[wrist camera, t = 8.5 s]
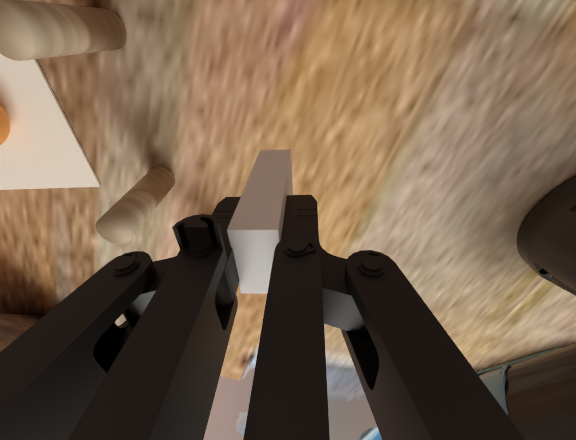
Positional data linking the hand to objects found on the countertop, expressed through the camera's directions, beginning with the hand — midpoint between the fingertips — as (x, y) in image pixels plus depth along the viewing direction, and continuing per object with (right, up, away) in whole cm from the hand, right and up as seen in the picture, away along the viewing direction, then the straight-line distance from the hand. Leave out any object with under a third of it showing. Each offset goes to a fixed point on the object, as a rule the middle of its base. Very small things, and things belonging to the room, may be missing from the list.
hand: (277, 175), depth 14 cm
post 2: (-13, +2, +14) cm, 19 cm away
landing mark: (-27, +7, +12) cm, 30 cm away
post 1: (-13, +12, +7) cm, 20 cm away
